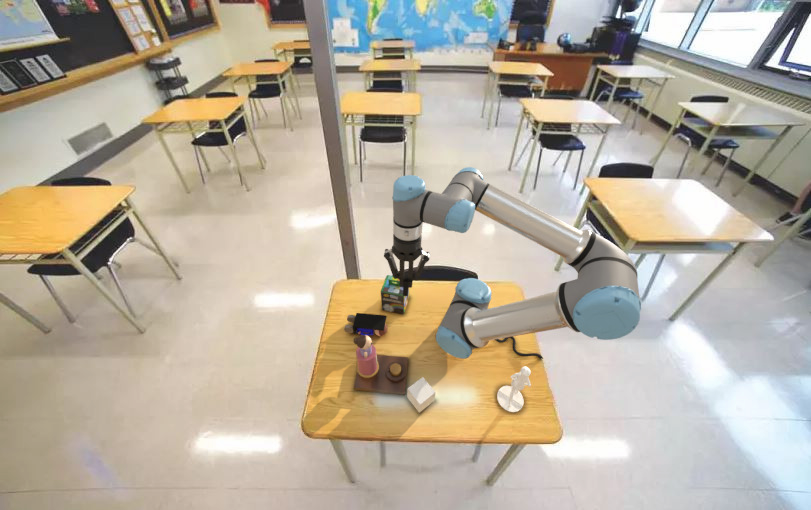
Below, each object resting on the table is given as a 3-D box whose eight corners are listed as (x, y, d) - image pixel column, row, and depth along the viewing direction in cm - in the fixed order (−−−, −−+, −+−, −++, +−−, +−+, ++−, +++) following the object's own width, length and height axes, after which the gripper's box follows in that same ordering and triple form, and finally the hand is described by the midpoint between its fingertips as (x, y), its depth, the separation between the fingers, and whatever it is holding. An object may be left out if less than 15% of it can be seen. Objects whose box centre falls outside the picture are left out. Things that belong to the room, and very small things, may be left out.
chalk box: (409, 297, 129) (410, 271, 119) (404, 315, 122) (404, 289, 112) (387, 293, 131) (386, 267, 121) (381, 310, 124) (379, 284, 114)
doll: (356, 378, 99) (351, 349, 88) (357, 358, 104) (352, 328, 93) (379, 377, 100) (376, 347, 88) (378, 356, 105) (376, 326, 94)
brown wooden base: (407, 360, 108) (408, 354, 106) (404, 395, 99) (404, 390, 97) (361, 355, 109) (360, 350, 107) (354, 390, 100) (353, 385, 98)
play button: (401, 366, 103) (401, 363, 102) (400, 377, 101) (400, 374, 99) (390, 365, 103) (390, 362, 102) (389, 376, 101) (389, 373, 100)
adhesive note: (407, 397, 99) (407, 388, 95) (421, 385, 102) (422, 376, 98) (419, 413, 96) (420, 404, 92) (434, 400, 98) (435, 392, 94)
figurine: (522, 389, 101) (539, 360, 89) (523, 415, 96) (542, 387, 84) (497, 384, 103) (510, 354, 91) (496, 408, 97) (511, 380, 85)
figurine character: (346, 339, 116) (386, 341, 113) (341, 327, 111) (383, 328, 108) (350, 324, 121) (389, 325, 118) (346, 311, 116) (386, 312, 113)
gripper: (380, 240, 81) (383, 300, 96) (431, 244, 80) (426, 304, 96) (384, 223, 86) (386, 282, 102) (432, 226, 85) (427, 285, 101)
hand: (405, 292), depth 99 cm, fingers closed
